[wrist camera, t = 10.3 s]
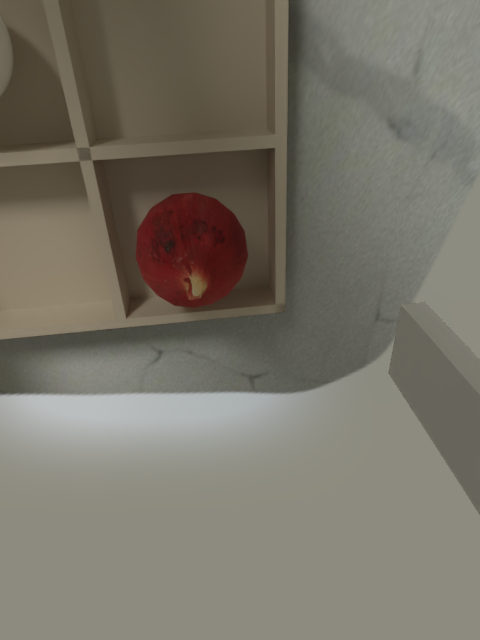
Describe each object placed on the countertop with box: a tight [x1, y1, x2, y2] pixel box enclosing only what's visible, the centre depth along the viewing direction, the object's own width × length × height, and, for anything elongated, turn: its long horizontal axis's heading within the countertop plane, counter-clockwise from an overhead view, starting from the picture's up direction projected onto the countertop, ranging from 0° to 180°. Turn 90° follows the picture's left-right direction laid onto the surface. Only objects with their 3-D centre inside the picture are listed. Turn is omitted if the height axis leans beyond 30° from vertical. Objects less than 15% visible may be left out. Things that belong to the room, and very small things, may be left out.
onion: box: [136, 192, 248, 308], centre depth 22 cm, size 6×6×8 cm
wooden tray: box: [0, 0, 289, 339], centre depth 22 cm, size 20×20×3 cm
